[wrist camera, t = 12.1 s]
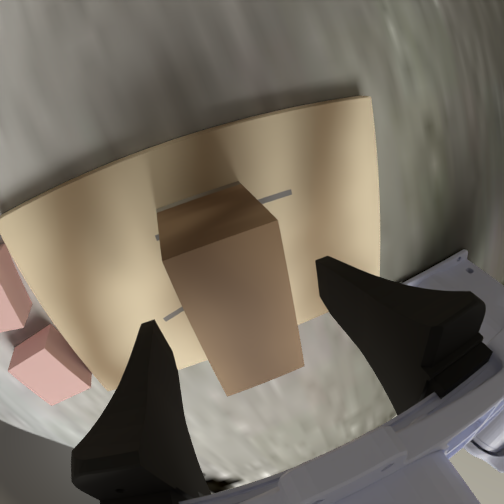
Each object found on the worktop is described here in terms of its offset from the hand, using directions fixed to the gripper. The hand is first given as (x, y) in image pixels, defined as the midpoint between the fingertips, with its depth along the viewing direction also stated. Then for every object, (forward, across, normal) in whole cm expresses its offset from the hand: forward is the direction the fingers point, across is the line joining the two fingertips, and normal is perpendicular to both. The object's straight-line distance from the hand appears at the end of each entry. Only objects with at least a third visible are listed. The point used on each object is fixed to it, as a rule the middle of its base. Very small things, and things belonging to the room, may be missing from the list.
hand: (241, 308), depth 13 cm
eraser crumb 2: (+5, +13, +3) cm, 14 cm away
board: (+5, 0, 0) cm, 5 cm away
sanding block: (+4, 0, 0) cm, 4 cm away
